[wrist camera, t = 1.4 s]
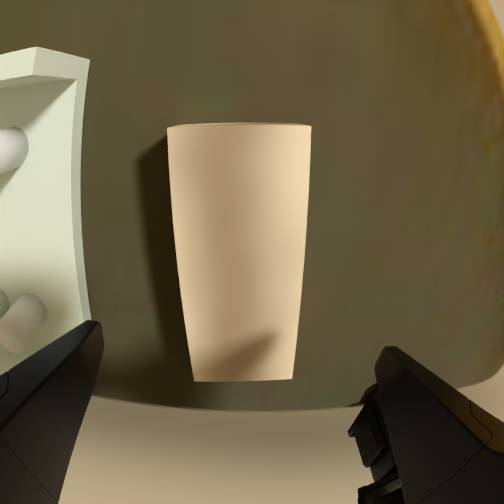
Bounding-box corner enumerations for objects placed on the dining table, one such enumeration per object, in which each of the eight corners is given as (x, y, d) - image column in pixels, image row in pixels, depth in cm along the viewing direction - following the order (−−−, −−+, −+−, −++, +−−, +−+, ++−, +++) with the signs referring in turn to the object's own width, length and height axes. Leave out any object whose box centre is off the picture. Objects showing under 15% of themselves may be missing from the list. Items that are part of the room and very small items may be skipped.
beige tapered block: (295, 123, 13) (311, 126, 10) (284, 341, 18) (291, 378, 15) (181, 124, 13) (167, 127, 10) (198, 344, 18) (194, 381, 15)
